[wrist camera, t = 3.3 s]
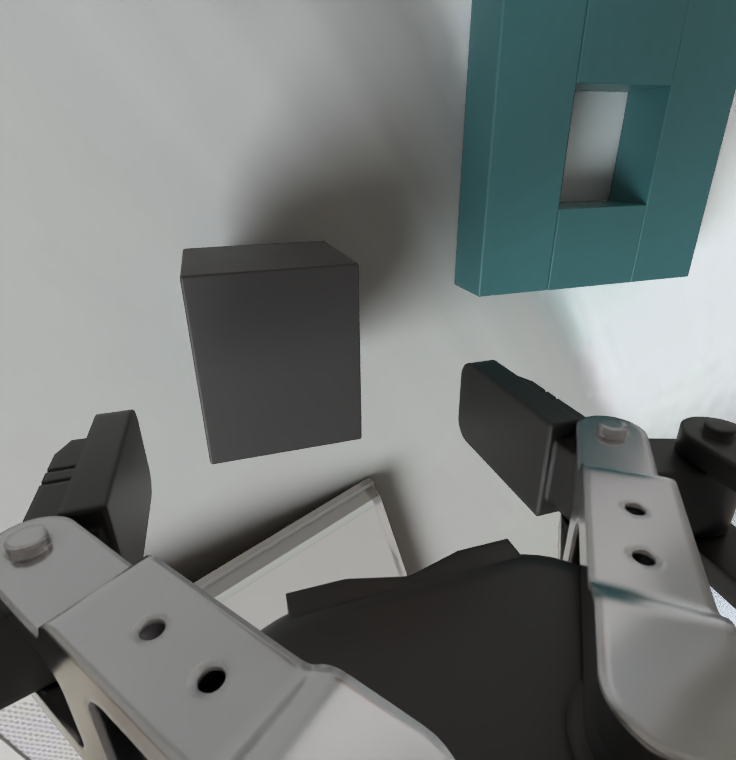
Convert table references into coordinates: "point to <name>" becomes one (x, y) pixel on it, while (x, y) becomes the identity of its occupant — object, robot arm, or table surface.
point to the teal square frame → (551, 131)
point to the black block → (274, 346)
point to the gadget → (255, 591)
